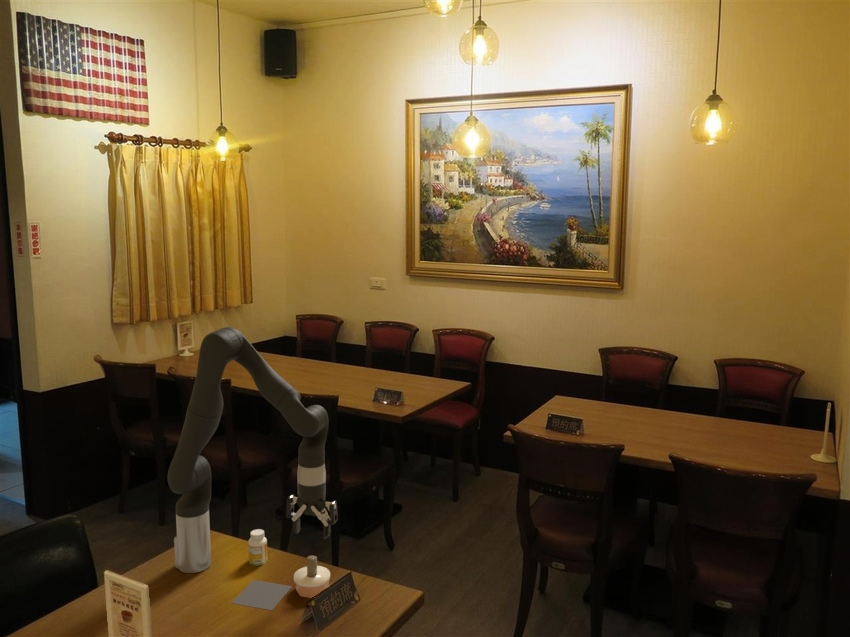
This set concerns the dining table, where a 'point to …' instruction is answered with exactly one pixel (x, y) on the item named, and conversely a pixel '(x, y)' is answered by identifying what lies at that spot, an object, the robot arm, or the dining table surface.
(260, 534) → the supplement bottle
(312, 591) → the bowl
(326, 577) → the lid
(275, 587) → the mat
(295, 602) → the dining table surface
